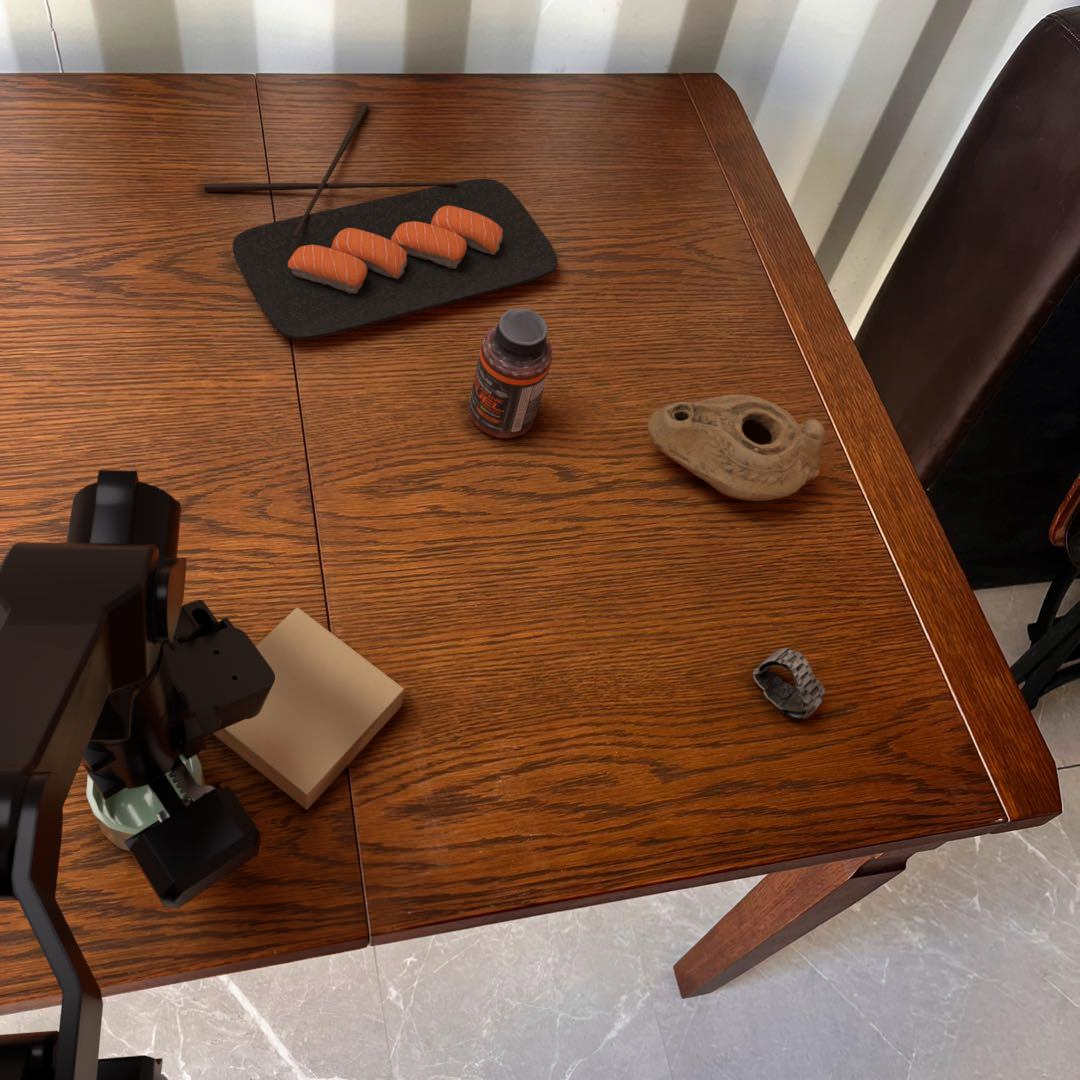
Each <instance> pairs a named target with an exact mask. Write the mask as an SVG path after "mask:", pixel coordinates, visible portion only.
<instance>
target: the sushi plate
mask: <svg viewBox="0 0 1080 1080" xmlns="http://www.w3.org/2000/svg"><path fill="white" fill-rule="evenodd" d="M368 109H369V104H367V103H362V105H361V107H360V108H359V110H358V112H357V114H356V115H355V118H354V119H353V121H352V123H351V125H350V126H349V129H348V131H347V132H346V135H345V136H344V138H343V140H342V142H341V144H340V145H339V148H338V150H337V152H336V154H335V155H334V158H333V160H332V161H331V162H330V163H331V164H330V165H329V167H328V169H327V171H326V173H325V175H324V177H323V179H322V180H321V182H317V183H316V182H237V183H235V182H233V183H232V182H229V183H227V182H226V183H224V182H222V183H221V182H220V183H217V182H215V183H205V184H203V188H204V192H206V193H233V192H238V193H239V192H265V191H266V192H271V191H273V192H275V191H301V190H303V191H304V190H316V192H315V193H314V196H313V197H312V199H311V200H310V203H309V204H308V206H307V208H306V210H305V212H304V213H303V215H300V216H295V217H290V218H286V219H282V220H278V221H277V220H276V221H272V222H269V223H265V224H261V225H258V226H255V227H251V228H249V229H246V230H243V231H242V232H240V233H238V234H237V235H236V236H235V237H234V238H233V241H232V253H233V257H234V259H235V262H236V265H237V266H238V268H239V269H238V270H239V271H240V273H241V274H242V277H243V278H244V280H245V282H246V284H247V286H248V288H249V290H250V292H251V293H252V295H253V296H254V298H255V300H256V302H257V304H258V305H259V307H260V309H261V311H262V312H263V314H264V316H265V317H266V318H267V320H268V322H269V323H270V324H271V326H273V328H274V329H275V330H276V331H277V332H278V333H279V334H281V335H282V336H284V337H286V338H288V339H291V340H300V341H302V340H303V341H305V340H315V339H320V338H325V337H329V336H335V335H338V334H342V333H346V332H350V331H354V330H357V329H361V328H366V327H369V326H372V325H376V324H380V323H383V322H387V321H390V320H395V319H399V318H403V317H407V316H410V315H413V314H417V313H421V312H425V311H428V310H432V309H435V308H440V307H443V306H447V305H451V304H455V303H458V302H463V301H466V300H469V299H474V298H476V297H481V296H486V295H488V294H492V293H496V292H500V291H504V290H507V289H510V288H511V289H512V288H514V287H517V286H521V285H525V284H528V283H532V282H535V281H537V280H539V279H543V278H545V277H547V276H549V275H551V274H552V273H553V272H554V271H555V270H556V269H557V268H558V262H559V260H558V257H557V256H558V255H557V254H556V251H555V248H554V247H553V246H552V244H551V242H550V241H549V240H548V238H547V236H546V235H545V233H544V232H543V231H542V229H541V228H540V226H539V225H538V223H537V222H536V221H535V219H534V218H533V217H532V215H531V214H530V213H529V211H528V210H527V208H525V206H524V205H523V203H522V202H521V201H520V200H519V198H518V197H517V196H516V195H515V194H514V193H513V192H512V191H511V190H510V188H508V187H507V186H506V185H505V184H503V183H502V182H501V181H498V180H496V179H490V178H476V179H467V180H463V181H433V182H432V181H429V182H426V181H425V182H424V181H423V182H422V181H421V182H330V183H329V182H328V181H329V179H330V177H331V176H332V174H333V172H334V170H335V168H336V166H337V165H338V163H339V161H340V160H341V158H342V157H343V155H344V153H345V151H346V149H347V148H348V146H349V144H350V142H351V141H352V139H353V137H354V135H355V133H356V132H357V130H358V128H359V126H360V125H361V123H362V121H363V120H364V117H365V116H366V114H367V112H368ZM412 187H414V188H416V187H417V188H418V187H428V188H423V189H419V190H414V191H410V192H405V193H401V194H396V195H391V196H386V197H381V198H378V199H377V198H376V199H373V200H369V201H364V202H360V203H355V204H350V205H345V206H341V207H337V208H331V209H326V210H323V211H317V212H314V213H312V210H313V208H314V206H315V204H316V203H317V201H318V199H319V197H320V195H321V194H322V191H323V190H327V189H328V190H329V189H331V190H332V189H366V188H367V189H368V188H369V189H370V188H371V189H372V188H412Z"/></svg>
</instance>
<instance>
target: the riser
mask: <svg viewBox="0 0 1080 1080" xmlns="http://www.w3.org/2000/svg"><path fill="white" fill-rule="evenodd" d="M255 647H256V648H257V649H258V651H259V652H260V653H261V655H262V656H263V658H264V659H265V660H266V662H267V663H268V664H269V666H270V667H271V668H272V670H273V672H274V674H275V681H274V684H273V686H272V688H271V690H270V692H269V694H268V696H267V698H266V701H265V703H264V705H263V707H262V709H261V711H260V713H259V714H258V715H257V716H255V717H253V718H251V719H245V720H242V721H240V722H238V723H235V724H233V725H231V726H228V727H226V728H224V729H221V730H219V731H217V732H214V733H211V734H212V735H213V736H215V737H216V738H217V739H219V740H220V742H222V743H223V744H224V745H225V746H226V747H228V748H229V749H230V750H231V751H233V752H234V753H235V754H237V755H238V756H239V757H240V758H242V759H243V760H244V761H245V762H247V763H248V764H249V765H251V766H252V767H253V768H254V769H255V770H257V771H258V772H259V773H260V774H262V776H264V777H265V778H266V779H268V780H269V781H270V782H271V783H273V784H274V785H275V786H276V787H278V788H279V789H280V790H281V791H282V792H284V793H286V795H287V796H289V797H290V798H291V799H292V800H293V801H295V802H296V803H297V804H298V805H300V806H301V807H302V808H303V809H305V810H307V811H308V810H309V809H310V808H311V806H312V805H313V804H314V803H315V802H316V801H317V800H318V799H319V798H320V797H321V795H322V794H323V793H324V792H325V791H326V790H327V789H328V788H329V786H330V785H332V783H333V782H334V781H335V780H336V779H337V778H338V777H339V776H340V775H341V774H342V772H343V771H344V770H345V769H346V768H347V767H348V766H349V764H350V763H351V762H352V761H353V760H354V759H355V758H356V757H357V756H358V755H359V754H360V753H361V751H362V750H363V749H364V748H365V747H366V746H367V745H368V744H369V743H370V741H371V740H372V739H373V738H374V737H375V736H376V735H377V734H378V733H379V732H380V731H381V729H382V728H383V727H384V726H385V725H386V724H387V723H388V722H389V721H390V719H392V718H393V716H394V715H395V714H397V712H398V711H399V710H400V708H401V707H402V703H403V698H404V692H405V688H404V687H403V686H401V685H400V684H399V683H397V681H395V680H393V679H392V678H391V677H389V676H388V675H387V674H386V673H385V672H384V671H382V670H381V669H379V668H378V667H376V665H374V664H373V663H371V662H370V661H369V660H367V659H366V658H365V657H363V655H360V654H359V653H358V652H357V651H355V650H354V649H353V648H351V647H350V646H349V645H348V644H346V643H345V642H344V641H343V640H341V639H340V638H339V637H337V636H336V635H335V634H333V633H332V632H330V631H329V630H328V629H327V628H325V627H324V626H323V625H321V624H320V623H319V622H318V621H317V620H315V619H314V618H312V617H311V616H310V615H308V614H307V613H306V612H305V611H303V610H302V609H300V608H299V607H298V606H296V607H295V608H294V609H293V610H292V611H290V613H289V614H288V615H287V616H285V618H284V619H282V621H280V622H279V623H278V624H277V625H276V626H275V627H274V628H273V629H272V630H271V631H270V632H269V633H268V634H266V636H265V637H263V638H262V639H261V640H260V641H259V642H258V643H257V644H256V645H255Z"/></svg>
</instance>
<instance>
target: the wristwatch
mask: <svg viewBox="0 0 1080 1080" xmlns="http://www.w3.org/2000/svg"><path fill="white" fill-rule="evenodd" d="M770 667H771V668H773V667H777V668H782V669H784V670H787V671H788V672H790V674H791V676H792V678H793V681H794V684H795V686H793V685H791V684H789V683H787V682H785V681H783V680H782V678H781V677H780V676H779V675H778V674H777V673H775V672H774V671H772V670H770ZM752 675H753V676H752V677H753V678H752V679H753V680H754V682H755V684H757V686H758V688H760V689H761V690H762V691H763V692H762V694H763V696H764V697H765V698H766V700H768V701H769V702H770V703H771V704H772V705H773V706H774V707H775V708H777V709H778V710H779V711H780V713H782V714H783V715H785V716H787V717H789V718H791V719H792V718H793V719H799V720H800V719H801V720H802V719H808V718H809V717H811V715H812V714H814V712H815V711H817V709H818V708H819V706H820V705H821V704H822V702H823V700H824V699H825V696H826V694H825V692H826V690H825V687H824V683H822V682H821V681H820V680H818V679H817V677H816V676H815V674H814V673H813V669H812V667H811V666H810V663H809V661H808V660H807V659H806V657H805V656H804V655H803V654H802V653H801V652H800V651H798V650H796V651H795V650H793V649H790V648H789V647H784V648H779V649H777V650H776V651H774V652H773V653H772V654H770V655H769V656H768V657H767V658H766V659H765V660H763V661H762V662H761V663H760V664H759V665H758V666H757V667H756V668H755V669H754V670H753V671H752Z"/></svg>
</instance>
